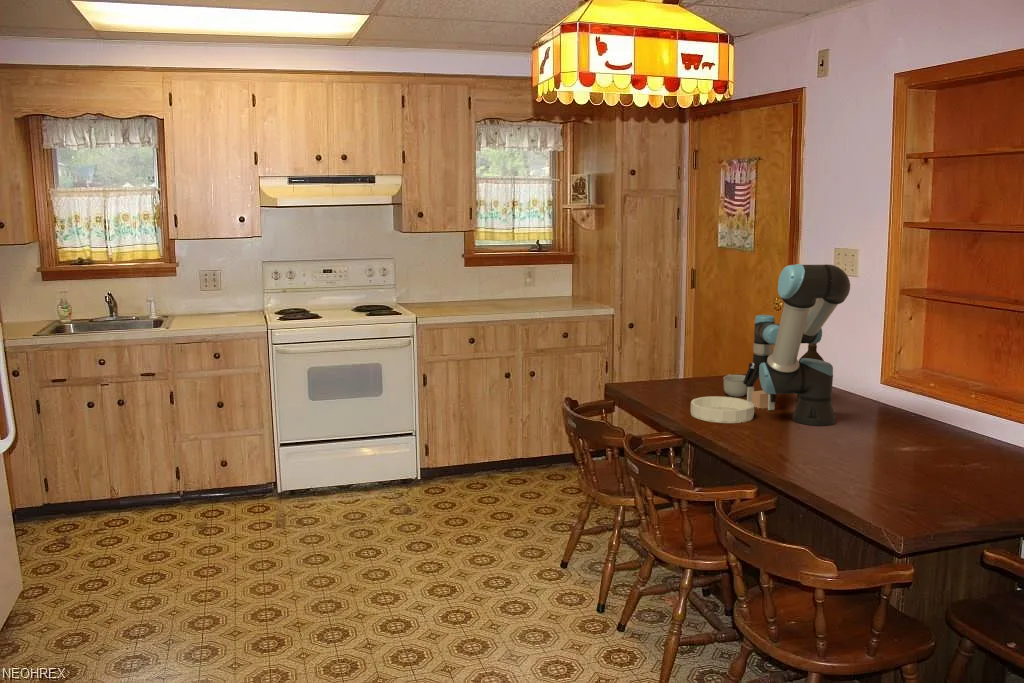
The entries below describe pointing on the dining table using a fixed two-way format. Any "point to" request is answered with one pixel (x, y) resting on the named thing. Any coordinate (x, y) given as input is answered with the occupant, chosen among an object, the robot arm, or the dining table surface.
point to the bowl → (722, 409)
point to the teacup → (735, 385)
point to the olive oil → (811, 355)
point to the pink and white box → (760, 399)
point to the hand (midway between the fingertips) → (760, 406)
